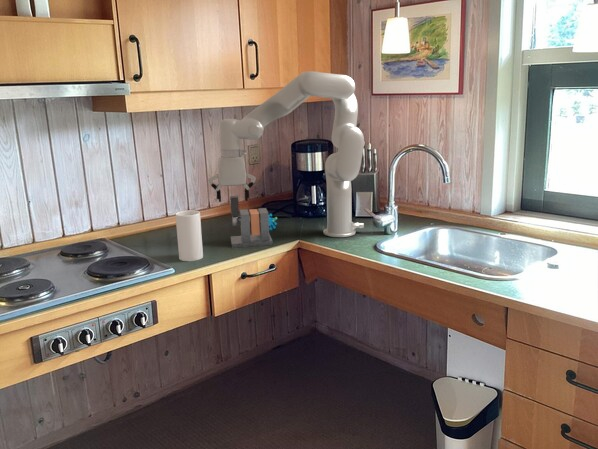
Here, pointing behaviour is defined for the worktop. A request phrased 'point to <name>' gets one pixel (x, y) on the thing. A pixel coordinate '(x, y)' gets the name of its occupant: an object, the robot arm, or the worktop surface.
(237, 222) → the shaft
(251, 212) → the orange square block
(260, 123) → the robot arm
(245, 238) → the bracket
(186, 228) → the cup
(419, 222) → the worktop surface
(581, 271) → the worktop surface
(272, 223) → the blue spiky toy
